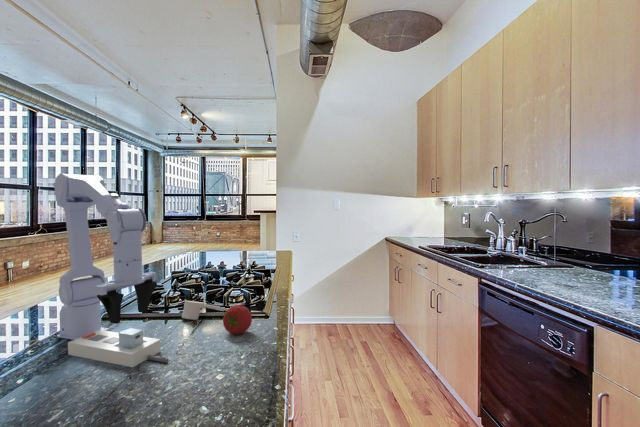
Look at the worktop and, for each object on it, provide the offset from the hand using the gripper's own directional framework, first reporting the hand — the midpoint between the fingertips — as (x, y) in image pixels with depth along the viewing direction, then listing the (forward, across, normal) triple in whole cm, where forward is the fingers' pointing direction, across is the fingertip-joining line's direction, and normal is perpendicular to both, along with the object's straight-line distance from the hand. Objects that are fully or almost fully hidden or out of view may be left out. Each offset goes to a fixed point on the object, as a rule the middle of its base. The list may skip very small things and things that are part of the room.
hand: (129, 317), depth 77 cm
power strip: (+9, 0, +2) cm, 10 cm away
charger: (+9, 0, 0) cm, 9 cm away
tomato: (+10, +19, -17) cm, 27 cm away
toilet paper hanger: (+10, +30, +2) cm, 32 cm away
